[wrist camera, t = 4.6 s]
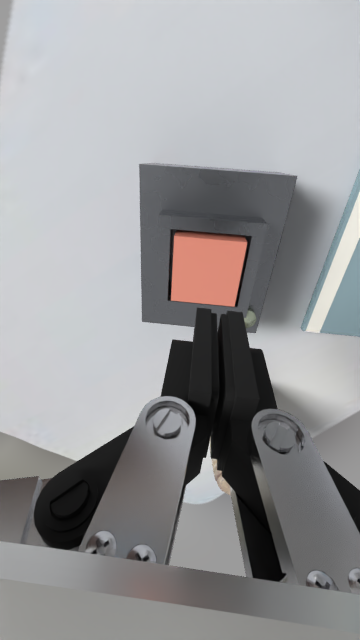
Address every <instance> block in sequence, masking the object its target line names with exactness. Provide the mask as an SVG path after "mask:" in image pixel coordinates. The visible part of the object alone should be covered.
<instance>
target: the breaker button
mask: <svg viewBox="0 0 360 640" xmlns="http://www.w3.org/2000/svg"><path fill="white" fill-rule="evenodd" d="M246 247H247V241H246V239H245V237H244V235H234V234H223V233H211V232H200V231H188V230H177V231H176V233H175V235H174V249H173V269H172V289H171V301H181V302H191V303H201V304H212V305H222V306H232V307H235V302H236V297H237V292H238V287H239V282H240V277H241V272H242V267H243V262H244V257H245V252H246Z"/></svg>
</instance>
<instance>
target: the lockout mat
mask: <svg viewBox="0 0 360 640" xmlns="http://www.w3.org/2000/svg"><path fill="white" fill-rule="evenodd" d="M301 329H302V331H306V332H316V333H329V334H339V335H349V336H359V337H360V170H359V173H358V176H357V178H356V181H355V184H354V186H353V189H352V192H351V194H350V197H349V200H348V203H347V205H346V208H345V211H344V213H343V216H342V219H341V221H340V224H339V227H338V229H337V232H336V235H335V237H334V240H333V243H332V245H331V248H330V251H329V253H328V256H327V259H326V262H325V264H324V267H323V270H322V272H321V275H320V278H319V280H318V283H317V286H316V288H315V291H314V294H313V296H312V299H311V302H310V304H309V307H308V310H307V312H306V315H305V318H304V320H303V323H302V326H301Z"/></svg>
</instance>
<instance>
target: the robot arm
mask: <svg viewBox="0 0 360 640" xmlns="http://www.w3.org/2000/svg"><path fill="white" fill-rule="evenodd" d="M210 437H211V459H217V470H219V471H222V477H223V478H224V479H225V481H226V482H227V483H228V484H229V485H230V494H231V499H232V504H233V510H234V515H235V520H236V526H237V531H238V536H239V541H240V546H241V552H242V557H243V562H244V568H245V573H246V577H242V576H235V575H229V574H222V573H215V572H209V571H203V570H196V569H189V568H183V567H177V566H170V565H169V563H170V559H171V554H172V549H173V545H174V540H175V535H176V531H177V526H178V522H179V517H180V512H181V508H182V503H183V499H184V494H185V489H186V485H187V484H188V483H189V482H190V481H191V480H193V479H194V478H195V477H196V476H197V475H198V474H200V470H201V465H202V460H203V457H204V458H206V455H207V451H208V446H209V441H210ZM0 640H360V490H358V489H357V488H356V487H355V486H353V485H352V484H351V483H350V482H349V481H347V480H346V479H345V478H344V477H342V476H341V475H340V474H339V473H338V472H336V471H335V470H334V469H332V468H331V467H330V466H329V465H328V464H327V463H325V462H324V461H323V460H322V458H321V456H320V454H319V452H318V450H317V448H316V446H315V444H314V442H313V440H312V438H311V436H310V434H309V432H308V431H307V429H306V428H305V426H304V425H303V424H302V423H301V422H300V421H299V420H298V419H297V418H296V417H294V416H292V415H291V414H289V413H287V412H285V411H282V410H278V409H277V405H276V401H275V397H274V393H273V389H272V386H271V382H270V378H269V374H268V370H267V366H266V362H265V358H264V354H263V352H262V350H261V349H253V348H250V347H249V342H248V337H247V332H246V327H245V322H244V316H243V312H236V311H227V313H226V314H221V316H220V321H219V327H218V333H217V313H211V309H207V308H197V310H196V319H195V328H194V337H193V342H190V341H181V340H172V344H171V349H170V354H169V359H168V364H167V368H166V373H165V378H164V383H163V388H162V393H161V397H158V398H156V399H153V400H151V401H150V402H149V403H147V404H146V405H145V406H144V408H143V409H142V411H141V413H140V415H139V417H138V419H137V421H136V424H135V426H134V427H132V428H131V429H129V430H127V431H126V432H124V433H122V434H121V435H119V436H118V437H116V438H114V439H113V440H111V441H110V442H108V443H106V444H105V445H103V446H101V447H100V448H98V449H97V450H95V451H93V452H92V453H90V454H88V455H87V456H85V457H84V458H82V459H80V460H79V461H77V462H76V463H74V464H72V465H71V466H69V467H68V468H66V469H65V470H63V471H61V472H59V473H58V474H57V475H56V476H54V477H53V478H48V479H40V477H39V476H34V477H25V478H16V479H7V480H0Z"/></svg>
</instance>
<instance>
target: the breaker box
mask: <svg viewBox="0 0 360 640" xmlns="http://www.w3.org/2000/svg"><path fill="white" fill-rule="evenodd" d="M139 169H140V227H141V286H142V322H150V323H160V324H170V325H180V326H190V327H195V319H196V310H197V308H207V309H211V313H217V329H218V327H219V321H220V316H221V314H226V313H227V311H236V312H243V316H244V322H245V327H246V332H249V333H256V330H257V326H258V322H259V319H260V315H261V311H262V307H263V304H264V300H265V296H266V292H267V289H268V285H269V281H270V277H271V274H272V270H273V266H274V262H275V258H276V255H277V251H278V247H279V243H280V240H281V236H282V232H283V228H284V225H285V221H286V217H287V213H288V210H289V206H290V202H291V198H292V194H293V191H294V187H295V183H296V179H297V176H295V175H289V174H284V173H278V172H264V171H251V170H238V169H225V168H212V167H198V166H185V165H172V164H159V163H147V164H139ZM177 230H188V231H200V232H211V233H223V234H234V235H244V237H245V239H246V241H247V247H246V252H245V257H244V262H243V267H242V272H241V277H240V282H239V287H238V292H237V297H236V302H235V307H232V306H222V305H212V304H201V303H191V302H181V301H171V289H172V269H173V249H174V235H175V233H176V231H177Z"/></svg>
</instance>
